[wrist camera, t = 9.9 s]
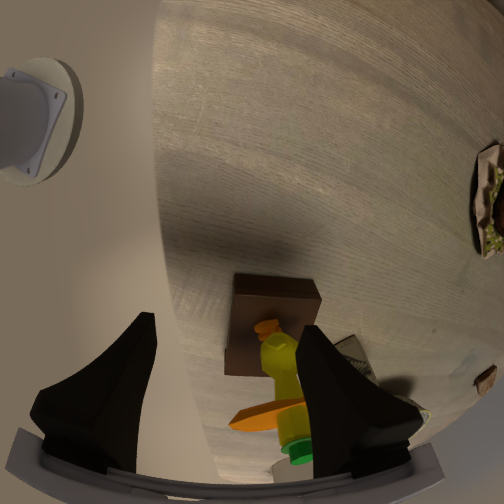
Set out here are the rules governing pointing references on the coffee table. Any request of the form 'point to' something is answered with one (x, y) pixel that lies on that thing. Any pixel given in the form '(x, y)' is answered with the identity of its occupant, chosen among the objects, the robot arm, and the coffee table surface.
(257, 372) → the brown square plinth
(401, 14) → the coffee table surface
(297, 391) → the toy figure
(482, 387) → the notched wooden chunk
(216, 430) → the coffee table surface
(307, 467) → the canister
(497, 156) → the bear figurine
